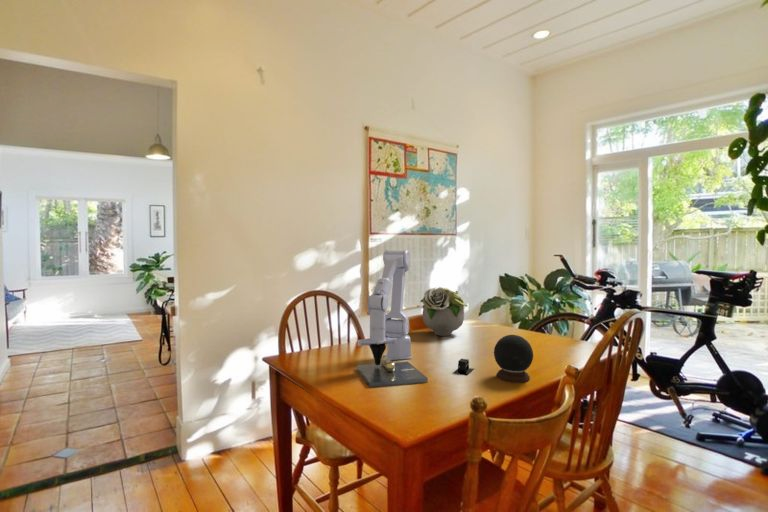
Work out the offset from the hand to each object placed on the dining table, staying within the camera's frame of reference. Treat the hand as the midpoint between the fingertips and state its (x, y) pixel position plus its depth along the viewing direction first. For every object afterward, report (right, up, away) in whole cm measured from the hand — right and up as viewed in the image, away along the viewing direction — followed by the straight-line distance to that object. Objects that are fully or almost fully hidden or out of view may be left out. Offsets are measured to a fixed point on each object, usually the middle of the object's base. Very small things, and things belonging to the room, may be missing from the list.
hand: (377, 364), depth 152 cm
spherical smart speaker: (+48, -3, -6) cm, 48 cm away
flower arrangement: (+33, -1, +62) cm, 70 cm away
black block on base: (+32, -3, +1) cm, 32 cm away
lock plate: (+5, -3, -5) cm, 8 cm away
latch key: (+4, -1, -2) cm, 4 cm away
